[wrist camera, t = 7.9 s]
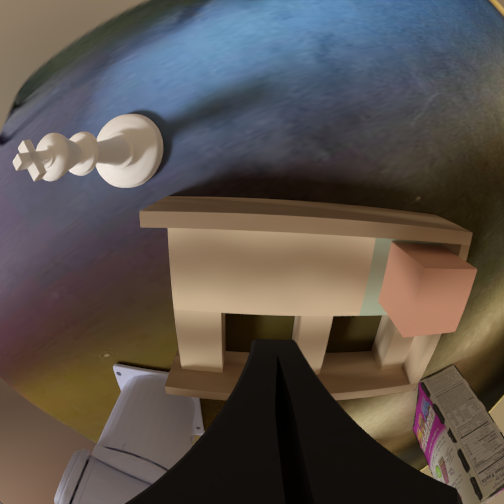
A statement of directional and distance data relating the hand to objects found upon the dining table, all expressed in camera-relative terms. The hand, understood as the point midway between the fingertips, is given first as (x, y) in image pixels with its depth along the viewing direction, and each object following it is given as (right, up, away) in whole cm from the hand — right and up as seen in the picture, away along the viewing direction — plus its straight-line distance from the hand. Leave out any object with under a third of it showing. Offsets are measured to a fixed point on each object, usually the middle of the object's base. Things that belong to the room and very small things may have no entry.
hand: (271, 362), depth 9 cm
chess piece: (-9, +10, +8) cm, 15 cm away
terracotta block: (+9, +2, +7) cm, 12 cm away
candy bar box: (+20, -13, +16) cm, 29 cm away
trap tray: (+3, +1, +10) cm, 11 cm away
